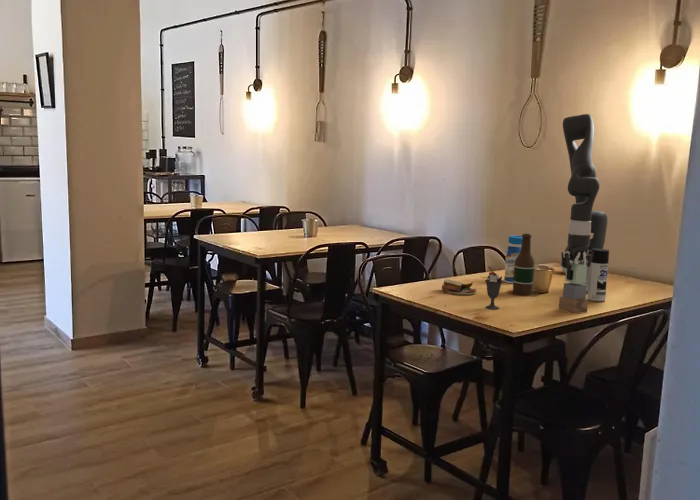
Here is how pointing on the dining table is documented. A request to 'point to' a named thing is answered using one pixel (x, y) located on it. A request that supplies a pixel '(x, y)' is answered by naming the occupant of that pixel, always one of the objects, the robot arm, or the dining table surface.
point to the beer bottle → (524, 268)
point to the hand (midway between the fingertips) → (575, 279)
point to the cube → (574, 291)
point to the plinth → (573, 305)
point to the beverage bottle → (512, 257)
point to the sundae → (493, 288)
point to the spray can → (598, 275)
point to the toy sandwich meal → (458, 288)
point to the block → (578, 274)
